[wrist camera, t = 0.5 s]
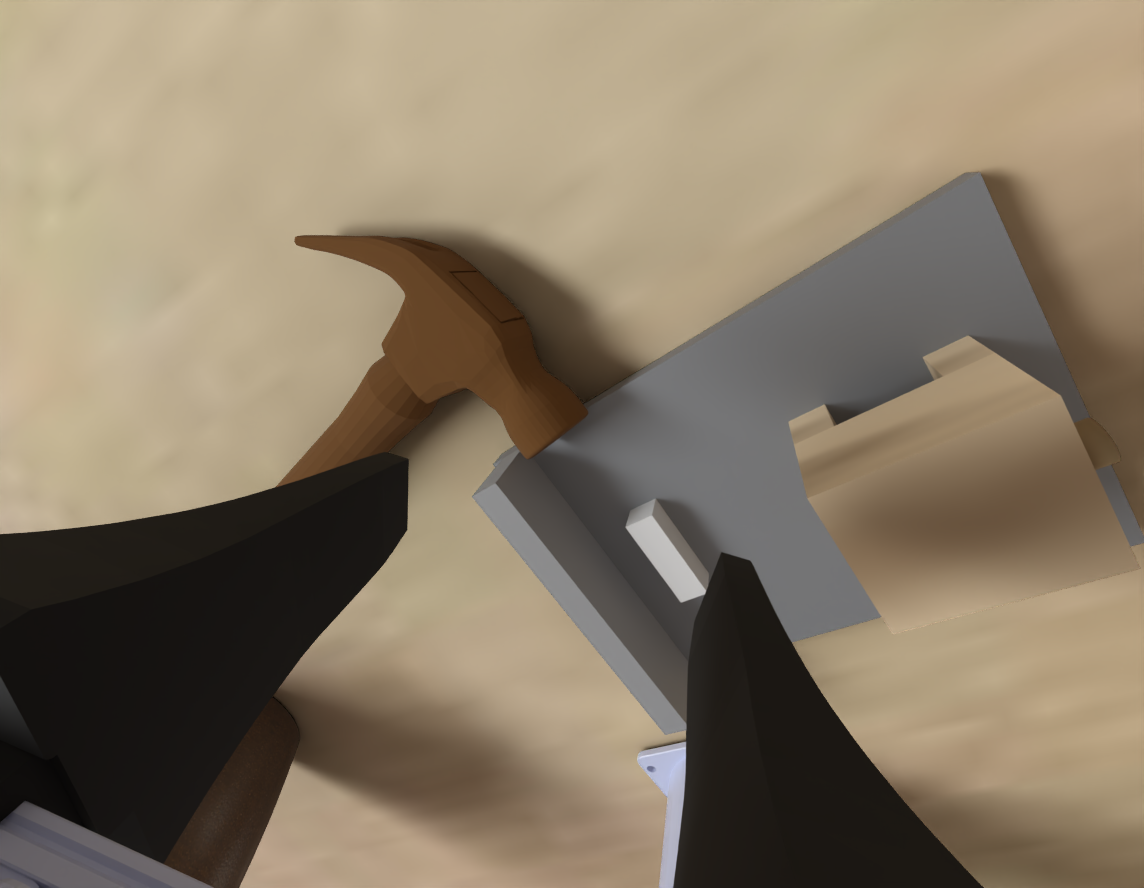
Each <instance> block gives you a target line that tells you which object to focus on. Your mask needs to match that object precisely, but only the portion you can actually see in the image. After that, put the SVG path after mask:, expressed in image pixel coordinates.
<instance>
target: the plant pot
mask: <svg viewBox="0 0 1144 888" xmlns="http://www.w3.org/2000/svg"><path fill="white" fill-rule="evenodd" d="M298 743H299V731H298V728H297V725H296V723H295V721H294V720H293V718H292V717H291V716H290V714H289V713H288V711H287V710H286V709H285V708H284V707H283V706H282V705H281V704H280V703H279V702H278V701H277V700H275V699H274V698H273V697H272V698H271V699H270V700H269V702H268V703H267V705H266V706H265V708H264V709H263V710H262V712H261V713H260V715H259V716H258V718H257V719H256V720H255V722H254V723H253V725H252V726H251V728H250V729H249V730H248V732H247V733H246V735H245V736H244V738H243V739H242V741H241V742H240V744H239V745H238V747H237V748H236V750H235V751H234V753H233V754H232V756H231V757H230V759H229V760H228V762H227V763H226V765H225V766H224V768H223V769H222V771H221V772H220V774H219V775H218V777H217V778H216V780H215V781H214V783H213V784H212V786H211V787H210V789H209V791H208V792H207V794H206V795H205V797H204V799H203V800H202V802H201V803H200V805H199V807H198V808H197V810H196V812H195V813H194V815H193V816H192V818H191V820H190V821H189V823H188V824H187V826H186V828H185V829H184V831H183V833H182V834H181V836H180V837H179V839H178V841H177V842H176V844H175V845H174V847H173V849H172V850H171V852H170V854H169V855H168V857H167V859H166V861H165V862H164V865H166V866H168V867H170V868H172V869H175V870H177V871H179V872H181V873H183V874H185V875H188V876H190V877H192V878H194V879H196V880H198V881H201V882H203V883H205V884H207V885H209V886H211V887H214V888H239V887H240V884H241V882H242V880H243V878H244V876H245V874H246V872H247V870H248V867H249V865H250V863H251V861H252V859H253V856H254V854H255V852H256V850H257V847H258V845H259V843H260V841H261V838H262V836H263V834H264V831H265V829H266V827H267V824H268V822H269V820H270V817H271V815H272V813H273V810H274V808H275V805H276V803H277V800H278V798H279V795H280V793H281V790H282V787H283V785H284V782H285V780H286V777H287V774H288V772H289V769H290V766H291V764H292V761H293V758H294V755H295V752H296V749H297V746H298Z"/></svg>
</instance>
